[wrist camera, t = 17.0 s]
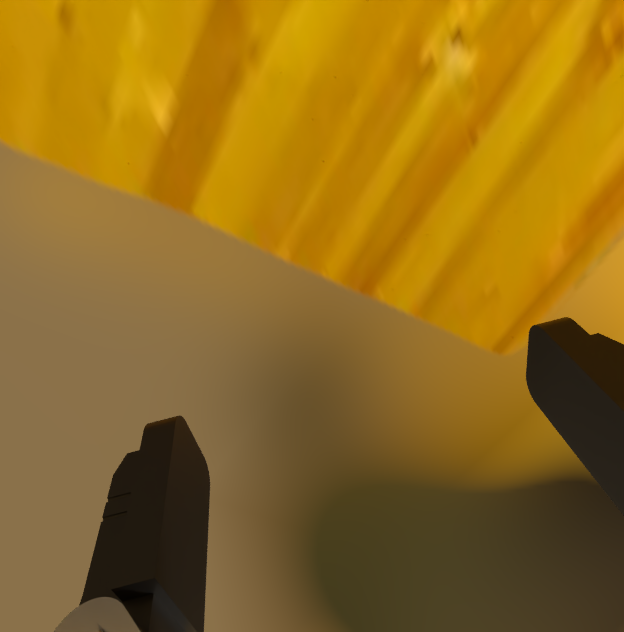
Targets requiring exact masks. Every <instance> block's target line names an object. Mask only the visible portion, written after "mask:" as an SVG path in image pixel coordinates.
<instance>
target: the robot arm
mask: <svg viewBox="0 0 624 632" xmlns="http://www.w3.org/2000/svg"><path fill="white" fill-rule="evenodd" d="M526 380H527V385H528V389H529V391H530V394H531V396H532V398H533V400H534V401H535V403H536V404H537V405H538V407H539V408H540V409H541V411H542V412H543V413H544V414H545V416H546V417H547V418H548V419H549V421H550V422H551V423H552V425H553V426H554V427H555V428H556V430H557V431H558V432H559V434H560V435H561V436H562V437H563V439H564V440H565V441H566V443H567V444H568V445H569V446H570V448H571V449H572V450H573V452H574V453H575V454H576V455H577V457H578V458H579V459H580V461H581V462H582V463H583V464H584V465H585V467H586V468H587V469H588V471H589V472H590V473H591V475H592V476H593V477H594V478H595V480H596V481H597V482H598V483H599V485H600V486H601V487H602V489H603V490H604V491H605V492H606V494H607V495H608V496H609V497H610V499H611V500H612V502H613V503H614V504H615V505H616V507H617V508H618V509H619V511H620V512H621V513H622V514H623V515H624V345H623V344H621V343H619V342H617V341H615V340H612V339H610V338H608V337H606V336H604V335H601V334H599V333H597V334H594V335H589V334H588V333H587V332H586V331H585V330H584V329H583V328H582V327H581V326H579V325H578V324H577V323H576V322H575V321H574V320H572V319H571V318H568V317H565V318H561V319H557V320H553V321H549V322H545V323H541V324H537V325H534V326H532V327H531V329H530V331H529V341H528V355H527V369H526ZM209 497H210V477H209V471H208V467H207V463H206V460H205V458H204V456H203V454H202V452H201V450H200V448H199V446H198V444H197V442H196V440H195V438H194V436H193V434H192V432H191V431H190V429H189V427H188V425H187V423H186V421H185V419H184V418H183V417H182V416H176V417H172V418H168V419H164V420H160V421H156V422H152V423H148V424H147V425H146V426H145V428H144V431H143V436H142V441H141V446H140V450H139V451H135V452H131V453H128V454H127V455H126V456H125V458H124V459H123V461H122V462H121V464H120V465H119V467H118V469H117V470H116V472H115V473H114V475H113V478H112V482H111V486H110V490H109V493H108V497H107V498H108V502H107V503H106V506H105V509H104V513H103V522H101V525H100V529H99V533H98V537H97V541H96V545H95V549H94V553H93V557H92V561H91V565H90V568H89V572H88V576H87V580H86V584H85V588H84V592H83V596H82V599H81V602H80V604H79V606H78V607H77V608H75V609H74V610H73V611H72V612H70V613H69V614H68V615H67V616H66V617H65V618H64V619H63V620H62V621H61V623H60V624H59V625H58V626H57V627H56V629H55V631H54V632H204V612H205V590H206V566H207V544H208V520H209Z"/></svg>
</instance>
